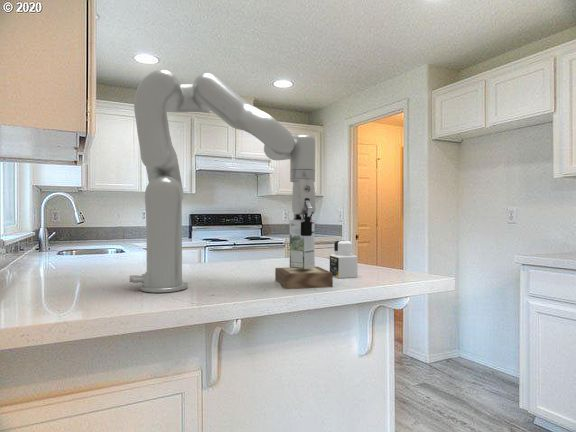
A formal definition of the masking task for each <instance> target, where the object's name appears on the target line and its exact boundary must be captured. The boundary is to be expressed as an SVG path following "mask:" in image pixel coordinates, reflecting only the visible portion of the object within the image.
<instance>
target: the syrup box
mask: <svg viewBox="0 0 576 432" xmlns="http://www.w3.org/2000/svg"><path fill="white" fill-rule="evenodd" d="M288 222H289V226H288V227H289V228H288V229H289V267H291V268H300V269H309V268H313V267H316V265H315V263H316V262H315V260H316V259H315V258H316V257H315V236H316V234H315V227H316V226H315V224H316V223H315V220H314V219H312V235H311V236H301V222H302V220H293V219H289V221H288Z"/></svg>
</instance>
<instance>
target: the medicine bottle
mask: <svg viewBox="0 0 576 432" xmlns="http://www.w3.org/2000/svg"><path fill="white" fill-rule="evenodd" d="M333 247H334V248H333V250H334V251H333V252H334V253H332V254H330V255H329V272H332V273H333V277H334V278H336V279H351V278H352V279H353V278H358V256H357V255H354V254H353V242H352V241H351V240H336V241H334V245H333Z"/></svg>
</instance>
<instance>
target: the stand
mask: <svg viewBox="0 0 576 432" xmlns="http://www.w3.org/2000/svg"><path fill="white" fill-rule="evenodd" d="M274 271H275V272H274V273H275V274H274V275H275V278H274V279H275V282H276V283H278V285H280V286H281V287H282V288H284V289H285V290H290V289H291V290H292V289H293V290H294V289H312V288H314V289H315V288H333V281H334V280H333V279H334V278H333V277H334V276H333V273H332V272H330V270H327V269H324V268H322V267H320V266H315V267H313V268H309V269H300V268H291V267H290V266H288V267H275V270H274Z"/></svg>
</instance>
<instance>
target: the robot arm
mask: <svg viewBox="0 0 576 432" xmlns="http://www.w3.org/2000/svg"><path fill="white" fill-rule="evenodd" d="M133 105H134V106H133V107H134V109H133V110H134V119H135V124H136V133H137V139H138V145H139V151H140V152H139V153H140V159H141V160H140V161H142V164H143V165H144V166H145V169H146V174H147V175H146V176H147V180H148V183H147V185H146V187H145V192H144V205H145V226H146V227H145V229H146V231H145V234H146V271H145V273H143V274H141V275H136V274H135V275H134V274H133V275H129V283H134V284H136V283H137V284H139V283H141V285H140V290H141V292H145V293H155V294H157V293H160V294H161V293H172V292H173V293H174V292H179V291H183V290H186V289H187V288H188V286H189V285H188V284H189V283H187V281H183V220H182V219H183V214H182V212H183V211H182V209H183V207H182V206H183V205H182V202H183V199H184V188H183V182H182V178H181V176H182V175H181V172H180V171H181V170H180V166H179V164H180V163H179V159H178V155H177V153H176V152H177V151H176V150H175V147H174V145H173V142H172V138H171V133H170V125H169V121H168V114H167V112H168V113H200V112H210V111H212V112H213V113H214V114H215V115H216V116H217V117H218V118H220V119H221V120H222V121H223V122H224V123H226V124H227V125H229V126H230V127H231V128H233V129H235V130H239V131H244V132H246V133H248V134H250V135H252V136H253V137H254V138H256V139H257V140H258V141H260V142H261V143H263V144H264V145H263V153H264V155H265V156H266V157H267V158H268V159H269V160H272V161H284V160H285V161H286V160H290V161H289V165H290V167H289V170H290V171H289V176H290V177H289V179H290V180H289V182H290V183H292V193H291V194H292V197H291V202H292V203H291V208H292V209H291V211H292V213H293V219H292V220H302V222H301V236H311V235H312V220H313V218H312V217H313V215H314V214H316V193H315V192H316V189H315V182H316V139H315V137H314V136H312V135H308V134H297V135H293V134H292V132H291V131H290V130H288V128H286V127H285V126H284V125H283V124H282V123H280V122H279V121H278V120H277V119H275V118H274V117H273V116H271V115H270V114H269V113H268V112H266V111H264V110H261V109H260V108H258V107H256V106H254V105H252V104H250V103H249V102H248V101H247V100H245V99H244V98H243V97H242V96H241V95H239V94H238V93H237V92H236V91H235V90H233V88H231V87H230V86H229V85H227V84H226V83H225V82H224V81H223V80H221V79H220V78H219V77H217V75H216V74H213V73H211V72H203V73H200V74H199V75H197V76H196V78H195V79H194V81H193V83H188V84H186V83H185V84H183V83H180V80H179V79H178V77H177V76H176V75H175V73H173V72H171V71H170V70H167V69H156V70H153V71H152V72H150V73H148V74H147V75H146V76H145V77H144V78H143V79H142V80H141V81H140V82H139V84H138V86H137V89H136V91H135V95H134V103H133Z"/></svg>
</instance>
